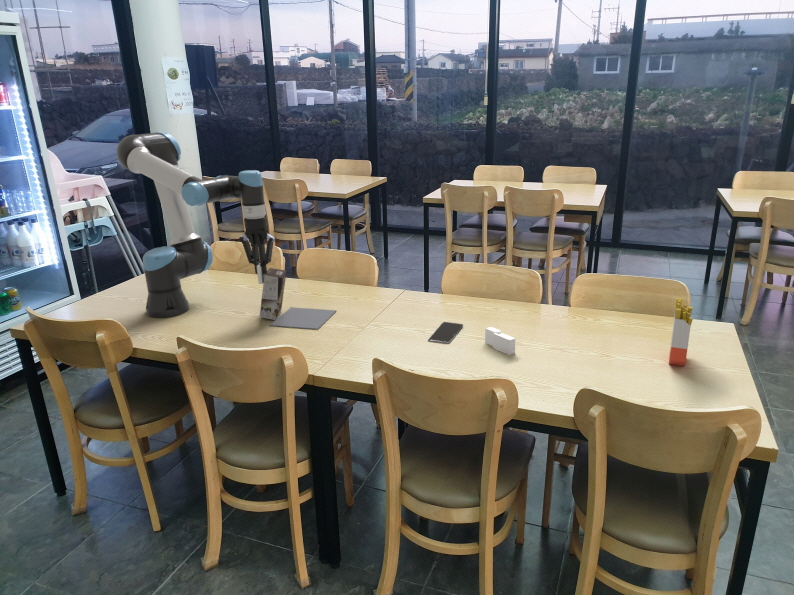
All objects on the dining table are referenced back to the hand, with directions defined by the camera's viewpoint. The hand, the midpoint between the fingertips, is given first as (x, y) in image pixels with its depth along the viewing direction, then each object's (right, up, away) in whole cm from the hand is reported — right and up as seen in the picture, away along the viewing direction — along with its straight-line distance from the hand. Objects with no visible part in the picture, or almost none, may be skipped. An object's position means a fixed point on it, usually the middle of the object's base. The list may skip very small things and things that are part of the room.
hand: (262, 282), depth 216 cm
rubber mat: (+15, -13, 0) cm, 19 cm away
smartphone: (+64, -18, -16) cm, 68 cm away
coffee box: (+2, -12, +4) cm, 12 cm away
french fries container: (+129, -24, -41) cm, 137 cm away
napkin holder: (+80, -21, -27) cm, 87 cm away
